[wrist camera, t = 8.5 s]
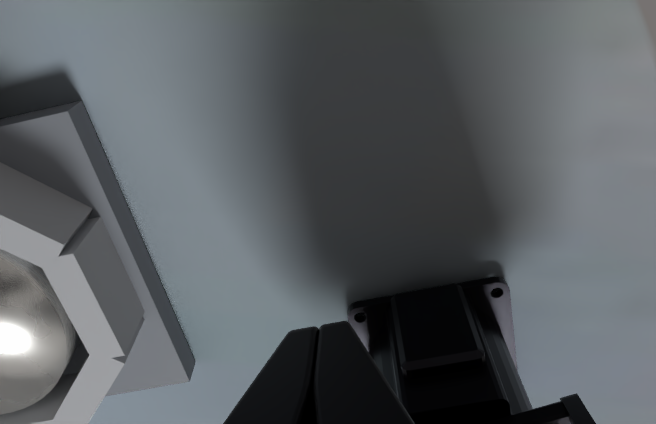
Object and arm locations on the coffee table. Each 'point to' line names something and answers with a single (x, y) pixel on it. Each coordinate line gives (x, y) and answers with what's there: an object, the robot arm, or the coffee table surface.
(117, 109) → the coffee table surface
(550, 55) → the coffee table surface
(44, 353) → the dial
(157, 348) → the dial panel
